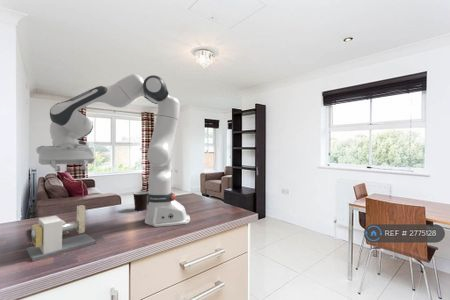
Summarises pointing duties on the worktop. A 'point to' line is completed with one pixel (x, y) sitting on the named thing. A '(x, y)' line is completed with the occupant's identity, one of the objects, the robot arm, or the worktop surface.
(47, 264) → the worktop surface
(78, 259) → the worktop surface
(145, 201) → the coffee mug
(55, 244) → the bearing housing
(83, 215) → the shaft
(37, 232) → the brass collar
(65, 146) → the robot arm
